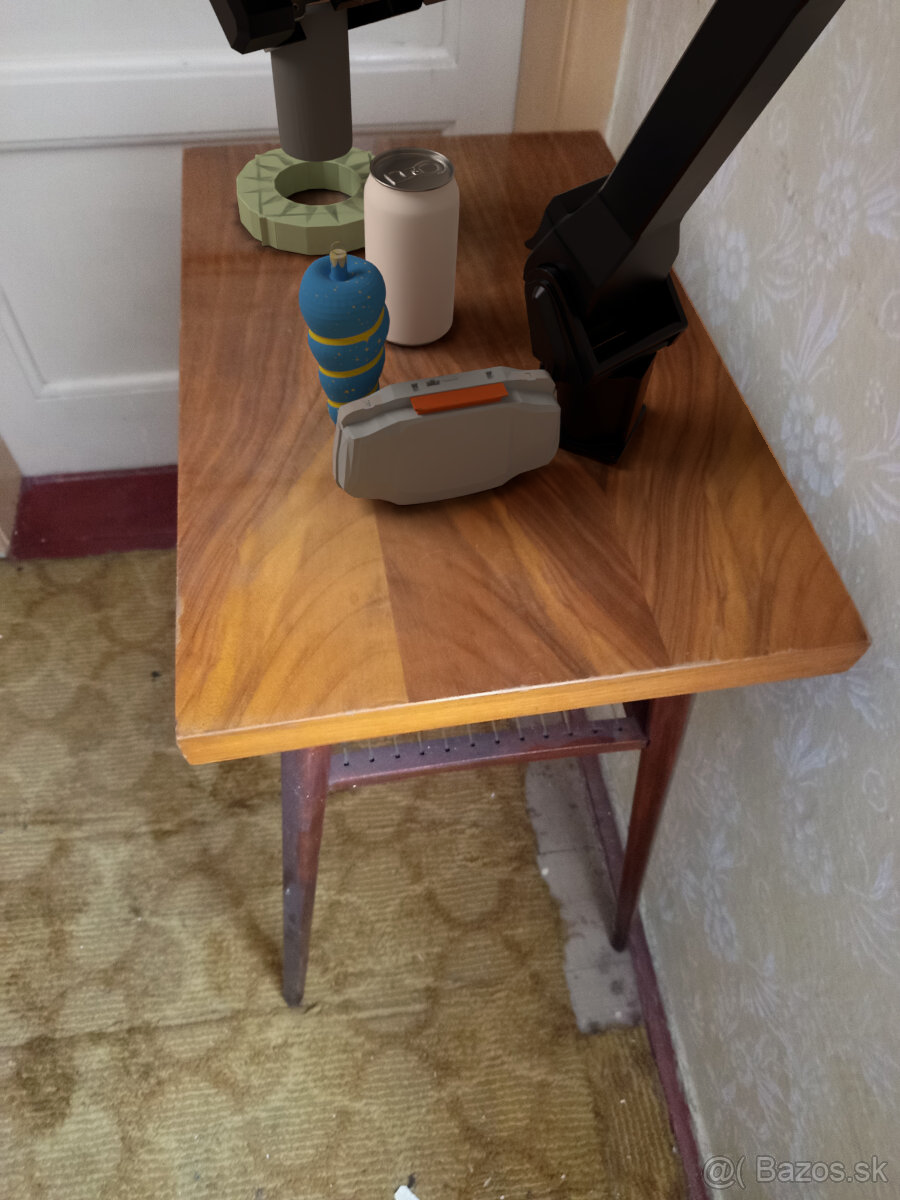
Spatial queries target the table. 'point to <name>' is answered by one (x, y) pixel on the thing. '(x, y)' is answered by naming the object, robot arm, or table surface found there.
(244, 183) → the holder
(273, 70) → the bottle
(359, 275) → the ornament
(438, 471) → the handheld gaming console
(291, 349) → the table surface
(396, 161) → the can
